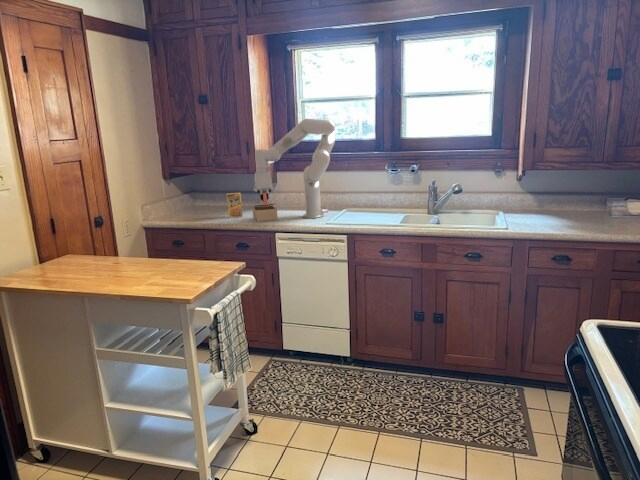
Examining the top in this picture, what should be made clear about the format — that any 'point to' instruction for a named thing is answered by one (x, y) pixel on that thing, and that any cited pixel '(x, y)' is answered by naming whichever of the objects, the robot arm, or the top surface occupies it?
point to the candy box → (234, 205)
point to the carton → (264, 213)
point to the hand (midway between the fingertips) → (264, 200)
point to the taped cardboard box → (264, 201)
